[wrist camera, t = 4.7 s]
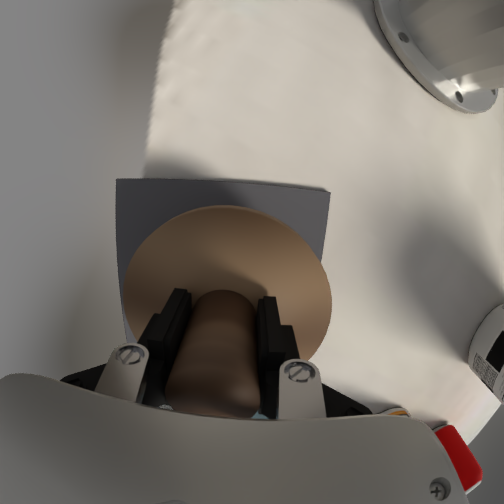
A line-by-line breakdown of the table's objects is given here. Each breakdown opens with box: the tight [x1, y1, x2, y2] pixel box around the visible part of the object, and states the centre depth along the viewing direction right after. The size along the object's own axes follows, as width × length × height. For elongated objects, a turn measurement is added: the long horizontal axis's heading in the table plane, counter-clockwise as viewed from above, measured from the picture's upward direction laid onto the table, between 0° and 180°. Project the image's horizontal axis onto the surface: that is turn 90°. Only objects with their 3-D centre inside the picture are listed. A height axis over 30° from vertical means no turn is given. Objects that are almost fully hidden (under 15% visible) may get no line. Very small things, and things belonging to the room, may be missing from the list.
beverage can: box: [433, 425, 482, 494], centre depth 18 cm, size 6×6×12 cm
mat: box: [116, 179, 331, 343], centre depth 16 cm, size 14×12×1 cm
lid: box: [123, 205, 332, 418], centre depth 10 cm, size 10×10×6 cm
